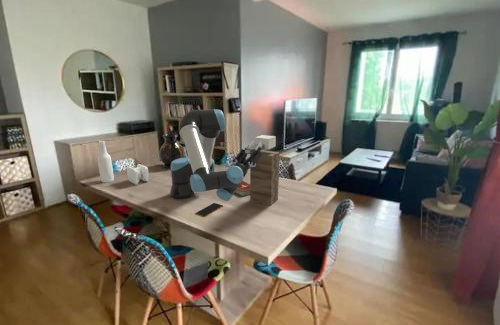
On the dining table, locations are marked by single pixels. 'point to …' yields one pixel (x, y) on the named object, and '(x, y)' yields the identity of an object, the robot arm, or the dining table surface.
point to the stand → (265, 178)
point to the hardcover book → (243, 188)
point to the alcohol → (105, 164)
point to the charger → (266, 141)
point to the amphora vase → (170, 150)
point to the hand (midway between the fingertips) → (257, 143)
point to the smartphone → (209, 210)
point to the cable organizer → (137, 174)
